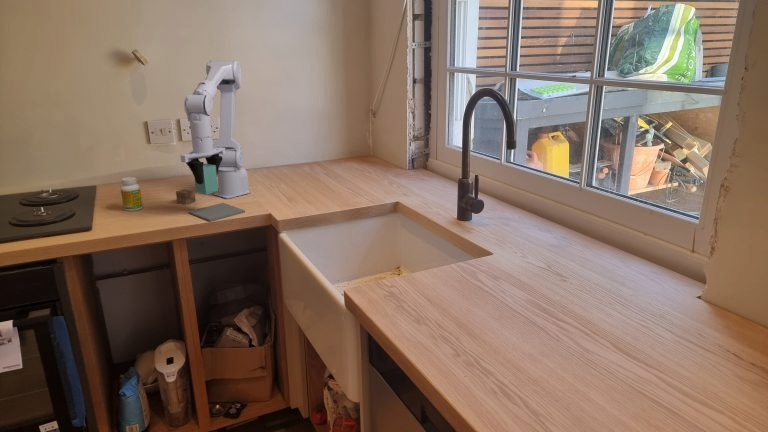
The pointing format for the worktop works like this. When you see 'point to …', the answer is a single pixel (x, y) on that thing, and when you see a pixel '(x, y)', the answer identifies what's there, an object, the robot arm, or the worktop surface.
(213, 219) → the slate mat
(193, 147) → the robot arm
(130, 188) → the supplement bottle
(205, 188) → the teal block
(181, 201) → the walnut block
